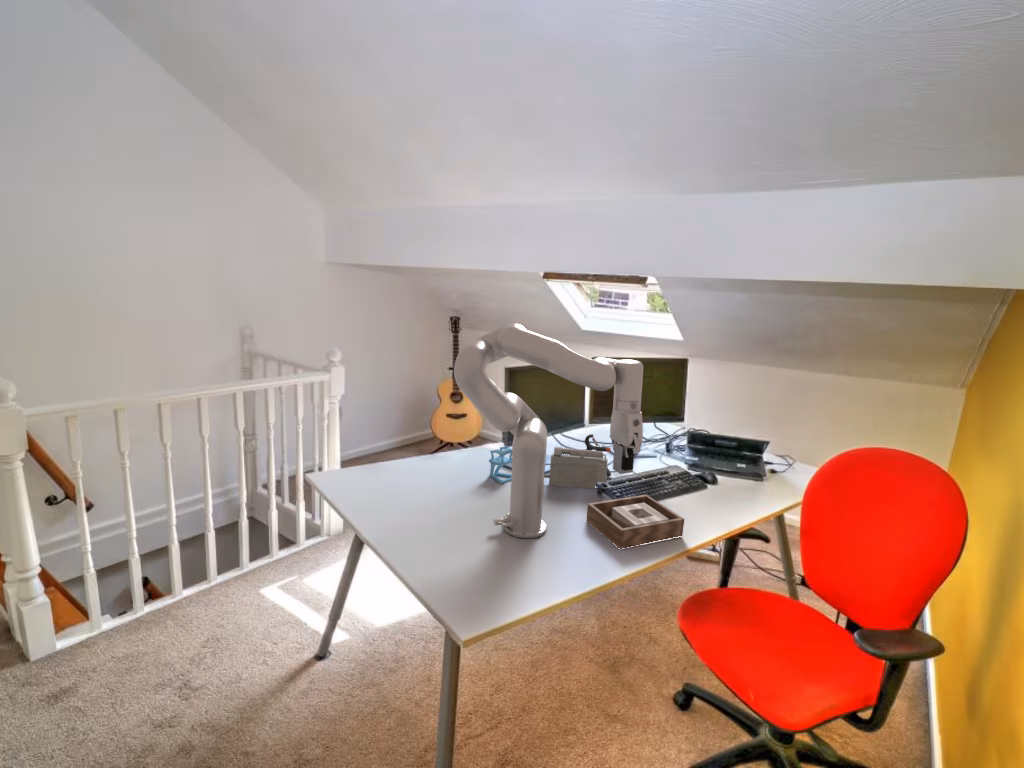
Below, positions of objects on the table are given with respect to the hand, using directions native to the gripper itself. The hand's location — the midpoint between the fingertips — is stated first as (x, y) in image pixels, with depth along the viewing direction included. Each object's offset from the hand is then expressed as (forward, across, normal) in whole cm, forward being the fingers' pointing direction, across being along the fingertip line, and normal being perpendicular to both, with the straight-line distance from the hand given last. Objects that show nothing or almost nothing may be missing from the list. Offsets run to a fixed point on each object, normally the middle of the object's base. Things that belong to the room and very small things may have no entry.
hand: (623, 466), depth 156 cm
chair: (+21, +51, +18) cm, 58 cm away
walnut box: (+22, +2, -7) cm, 23 cm away
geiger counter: (+22, +37, -4) cm, 43 cm away
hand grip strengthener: (+22, +45, -18) cm, 53 cm away
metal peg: (+1, 0, 0) cm, 1 cm away
